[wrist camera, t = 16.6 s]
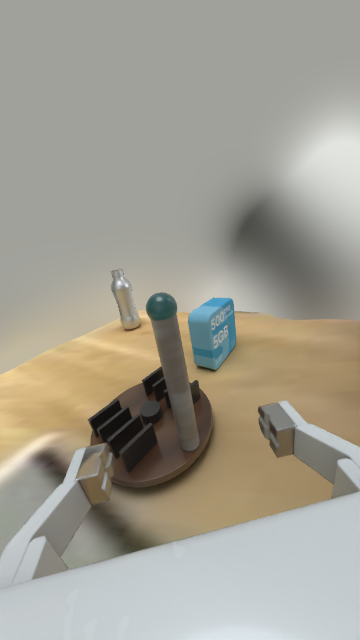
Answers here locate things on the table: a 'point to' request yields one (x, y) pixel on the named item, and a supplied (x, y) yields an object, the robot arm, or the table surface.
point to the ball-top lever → (156, 412)
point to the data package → (212, 332)
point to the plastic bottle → (124, 300)
